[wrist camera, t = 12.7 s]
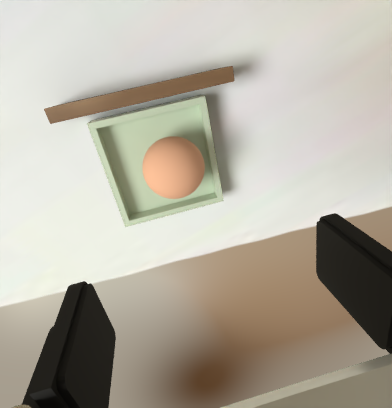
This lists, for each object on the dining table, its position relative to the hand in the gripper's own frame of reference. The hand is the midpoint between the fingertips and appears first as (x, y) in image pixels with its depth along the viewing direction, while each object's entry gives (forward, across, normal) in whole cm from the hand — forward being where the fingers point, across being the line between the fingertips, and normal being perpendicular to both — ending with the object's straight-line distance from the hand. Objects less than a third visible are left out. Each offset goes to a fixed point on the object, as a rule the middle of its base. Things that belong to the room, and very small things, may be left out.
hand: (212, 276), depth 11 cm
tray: (+20, +1, 0) cm, 20 cm away
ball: (+20, +1, 0) cm, 20 cm away
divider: (+20, +1, -6) cm, 21 cm away
